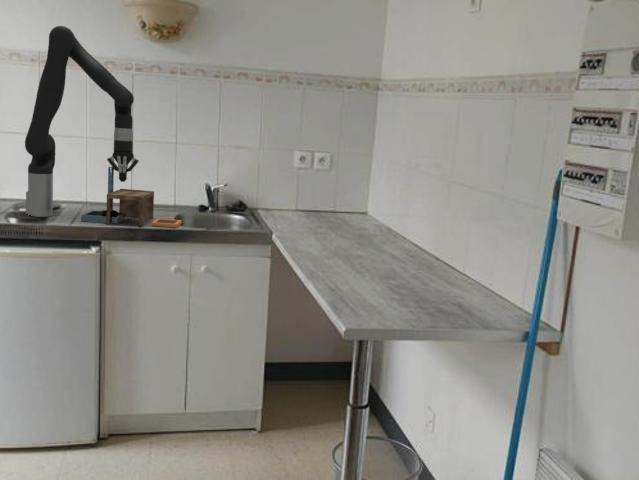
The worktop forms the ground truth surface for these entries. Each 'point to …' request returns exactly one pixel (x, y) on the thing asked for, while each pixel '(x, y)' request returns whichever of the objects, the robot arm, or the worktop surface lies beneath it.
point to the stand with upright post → (96, 215)
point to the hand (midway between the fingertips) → (122, 181)
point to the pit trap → (166, 223)
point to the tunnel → (132, 204)
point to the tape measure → (112, 212)
